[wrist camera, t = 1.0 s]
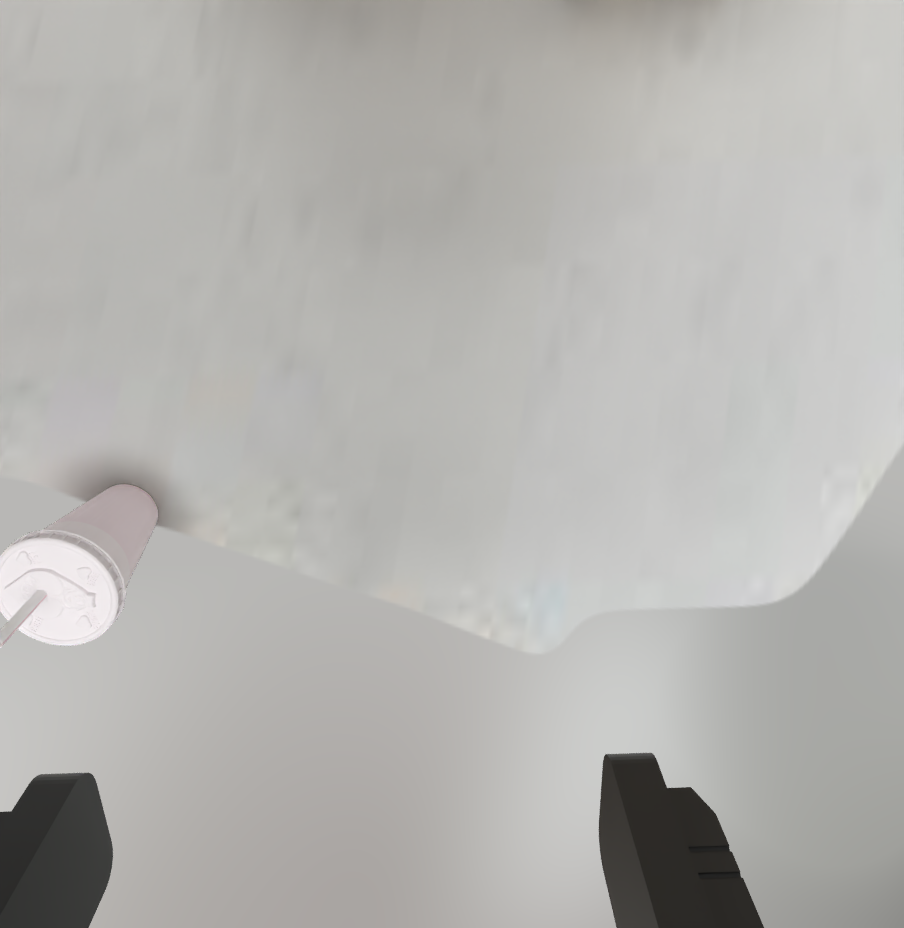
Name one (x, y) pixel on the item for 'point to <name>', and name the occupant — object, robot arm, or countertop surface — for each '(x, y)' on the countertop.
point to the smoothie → (76, 569)
